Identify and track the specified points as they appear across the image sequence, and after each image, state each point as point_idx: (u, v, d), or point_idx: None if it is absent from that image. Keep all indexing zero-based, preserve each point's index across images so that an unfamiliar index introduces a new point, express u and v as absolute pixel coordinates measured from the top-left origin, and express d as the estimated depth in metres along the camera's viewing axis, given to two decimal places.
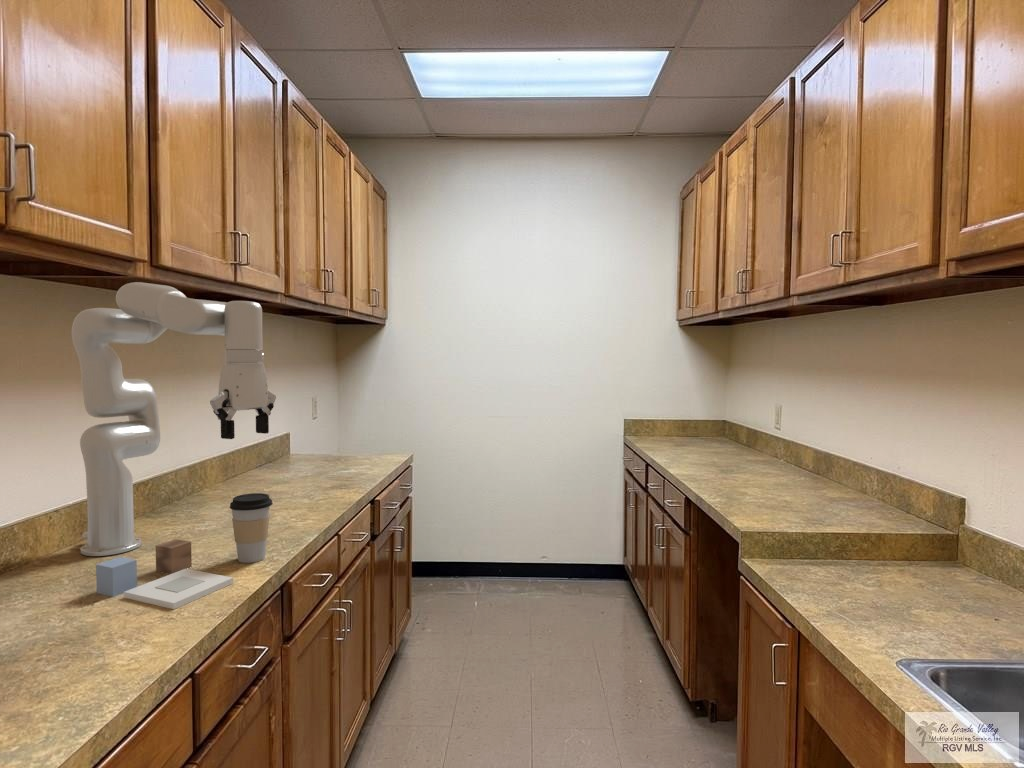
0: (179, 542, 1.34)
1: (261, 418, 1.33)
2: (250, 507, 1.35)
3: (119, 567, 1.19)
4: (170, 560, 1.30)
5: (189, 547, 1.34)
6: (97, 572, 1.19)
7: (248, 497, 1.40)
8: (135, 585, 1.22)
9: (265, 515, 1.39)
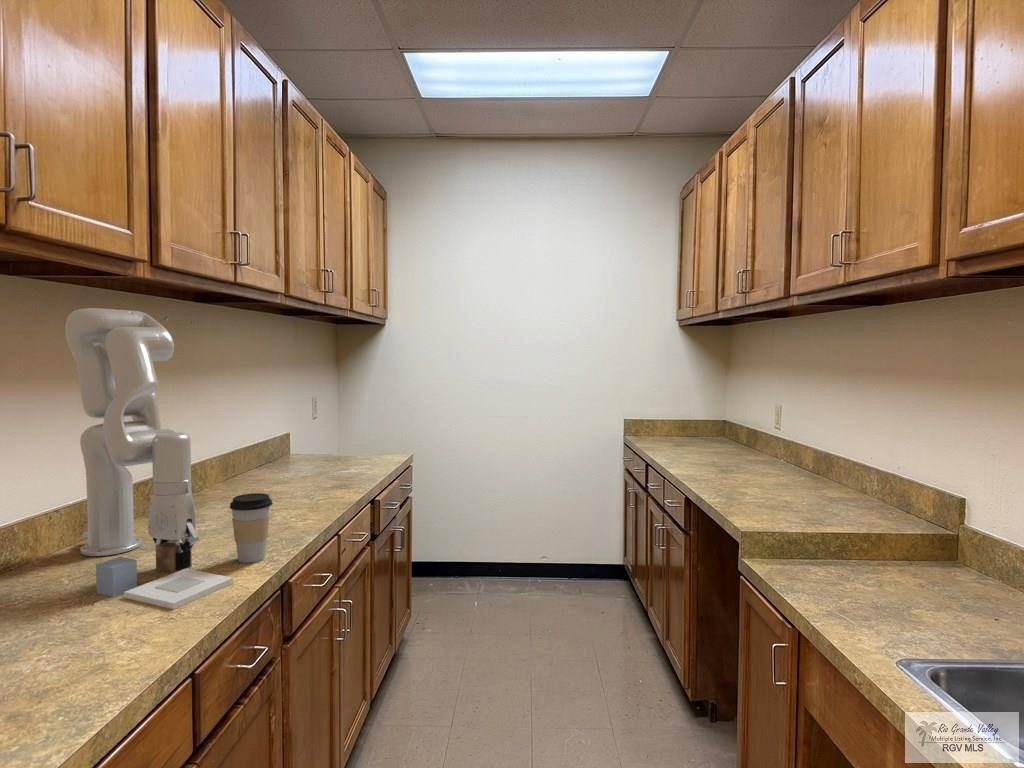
0: None
1: None
2: (250, 507, 1.35)
3: (119, 567, 1.19)
4: (170, 560, 1.30)
5: None
6: (97, 572, 1.19)
7: (248, 497, 1.40)
8: (135, 585, 1.22)
9: (265, 515, 1.39)
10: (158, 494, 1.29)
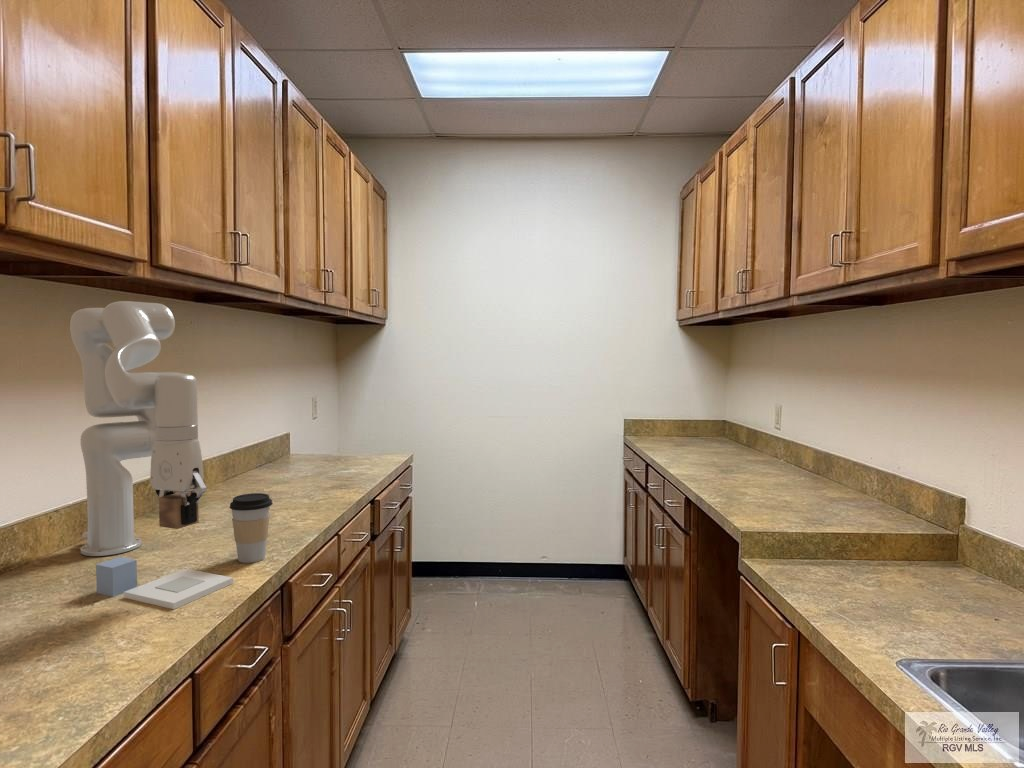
0: None
1: None
2: (250, 507, 1.35)
3: (119, 567, 1.19)
4: (175, 513, 1.17)
5: None
6: (97, 572, 1.19)
7: (248, 497, 1.40)
8: (135, 585, 1.22)
9: (265, 515, 1.39)
10: (161, 440, 1.16)
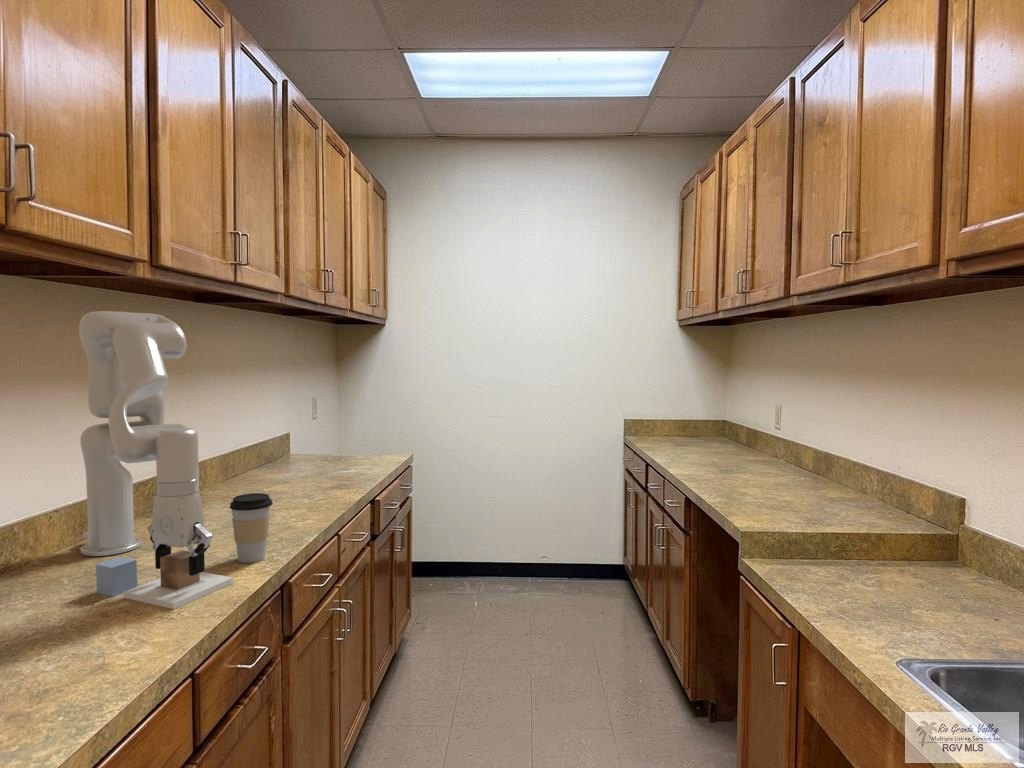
0: (185, 553, 1.22)
1: (165, 550, 1.23)
2: (250, 507, 1.35)
3: (119, 567, 1.19)
4: (176, 574, 1.18)
5: None
6: (97, 572, 1.19)
7: (248, 497, 1.40)
8: (135, 585, 1.22)
9: (265, 515, 1.39)
10: (163, 495, 1.17)
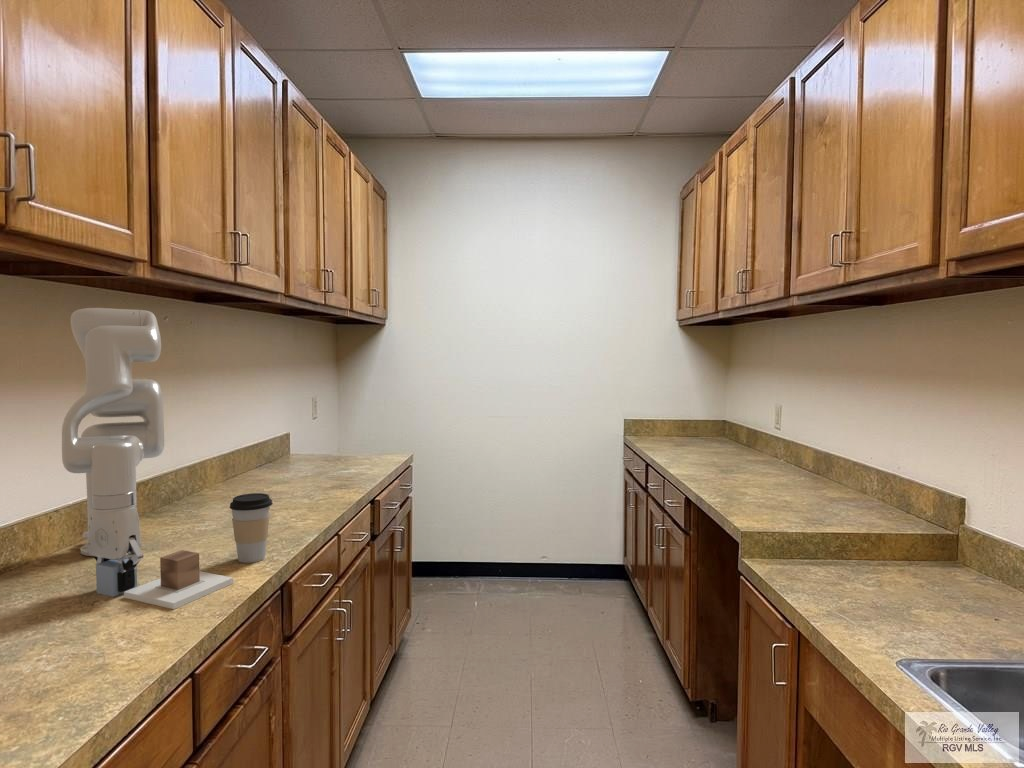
0: (185, 553, 1.22)
1: None
2: (250, 507, 1.35)
3: None
4: (176, 574, 1.18)
5: (197, 559, 1.22)
6: (97, 572, 1.19)
7: (248, 497, 1.40)
8: (135, 585, 1.22)
9: (265, 515, 1.39)
10: (97, 508, 1.17)
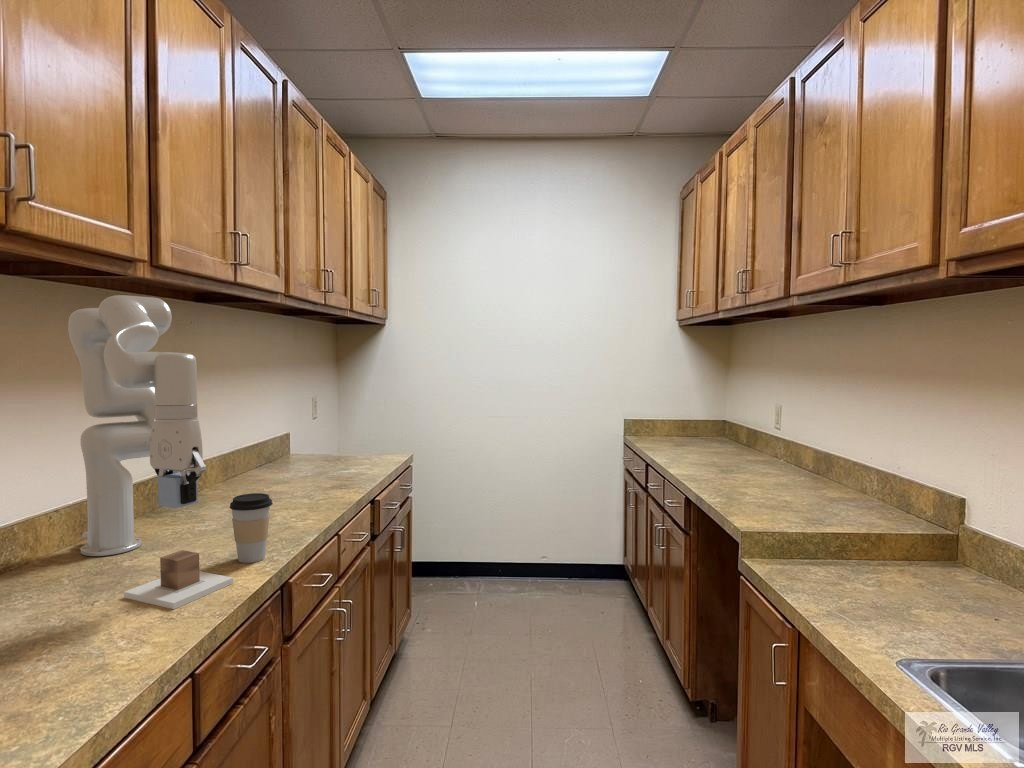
0: (185, 553, 1.22)
1: None
2: (250, 507, 1.35)
3: (181, 479, 1.18)
4: (176, 574, 1.18)
5: (197, 559, 1.22)
6: (159, 484, 1.19)
7: (248, 497, 1.40)
8: (196, 499, 1.21)
9: (265, 515, 1.39)
10: (161, 418, 1.16)
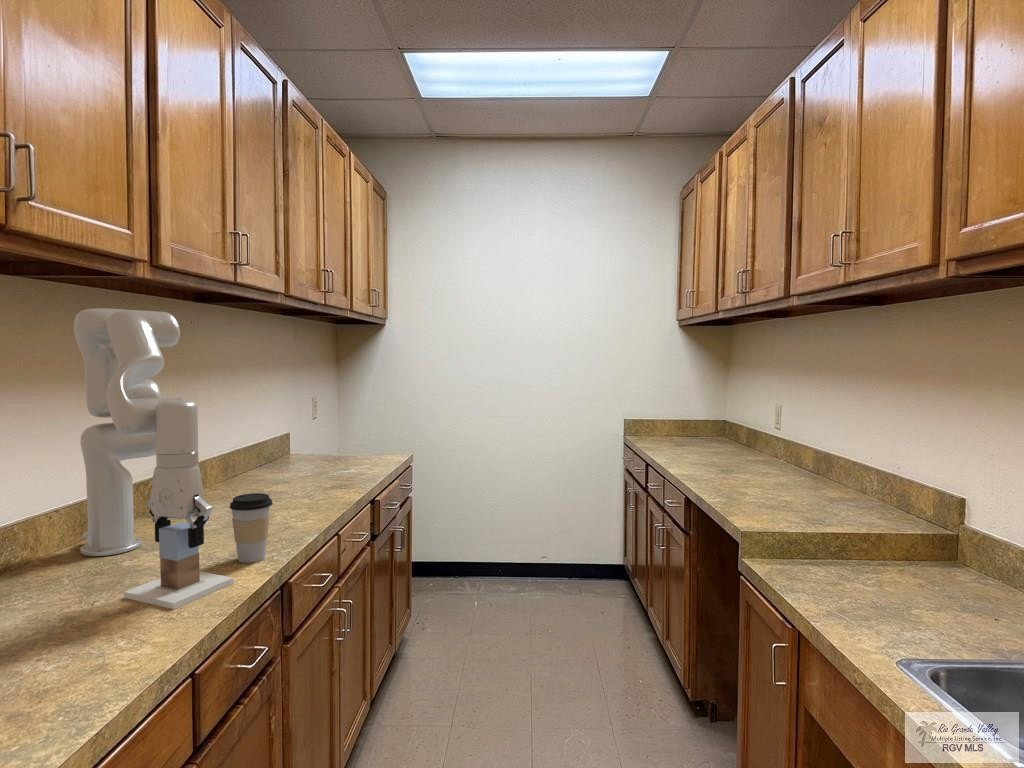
0: None
1: (165, 524, 1.22)
2: (250, 507, 1.35)
3: (182, 531, 1.19)
4: (176, 574, 1.18)
5: (197, 559, 1.22)
6: (160, 536, 1.19)
7: (248, 497, 1.40)
8: (196, 550, 1.22)
9: (265, 515, 1.39)
10: (162, 467, 1.16)
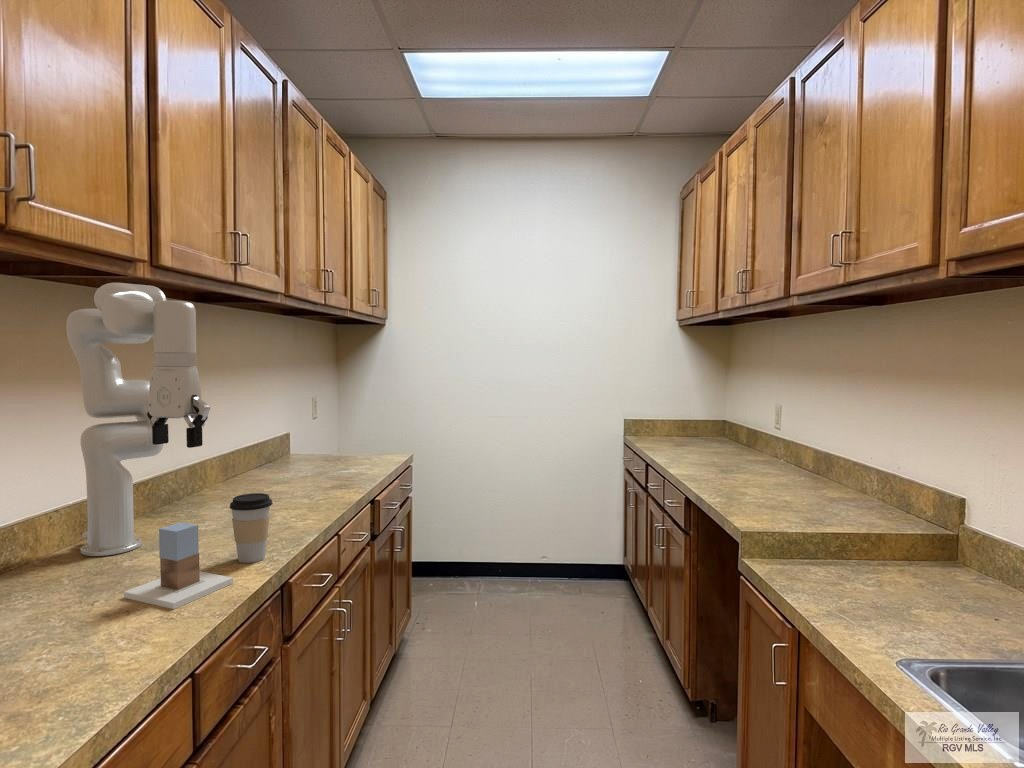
0: None
1: (162, 427, 1.21)
2: (250, 507, 1.35)
3: (182, 531, 1.19)
4: (176, 574, 1.18)
5: (197, 559, 1.22)
6: (160, 536, 1.19)
7: (248, 497, 1.40)
8: (196, 550, 1.22)
9: (265, 515, 1.39)
10: (160, 365, 1.15)
